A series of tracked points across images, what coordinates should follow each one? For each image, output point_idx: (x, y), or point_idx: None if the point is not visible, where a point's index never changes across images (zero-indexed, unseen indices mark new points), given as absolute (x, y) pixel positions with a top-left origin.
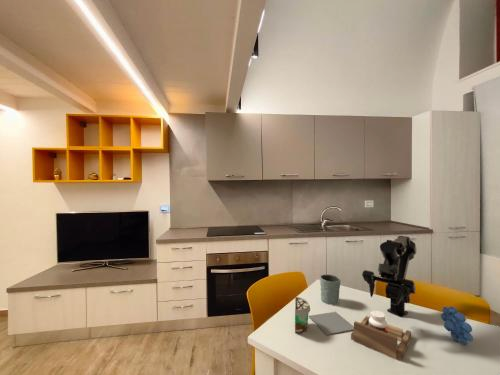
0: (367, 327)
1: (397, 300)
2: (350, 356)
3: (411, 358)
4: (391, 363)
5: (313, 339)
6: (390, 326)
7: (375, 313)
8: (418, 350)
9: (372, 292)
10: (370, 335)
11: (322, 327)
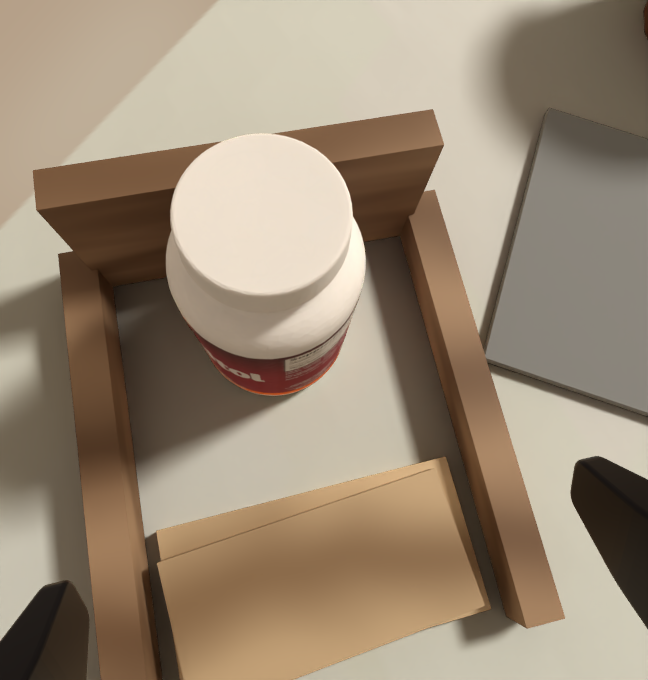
0: (304, 134)
1: (22, 645)
2: (313, 60)
3: (28, 363)
4: None
5: (554, 20)
6: (297, 639)
7: (289, 194)
8: (14, 525)
9: (646, 551)
10: None
11: (629, 148)
